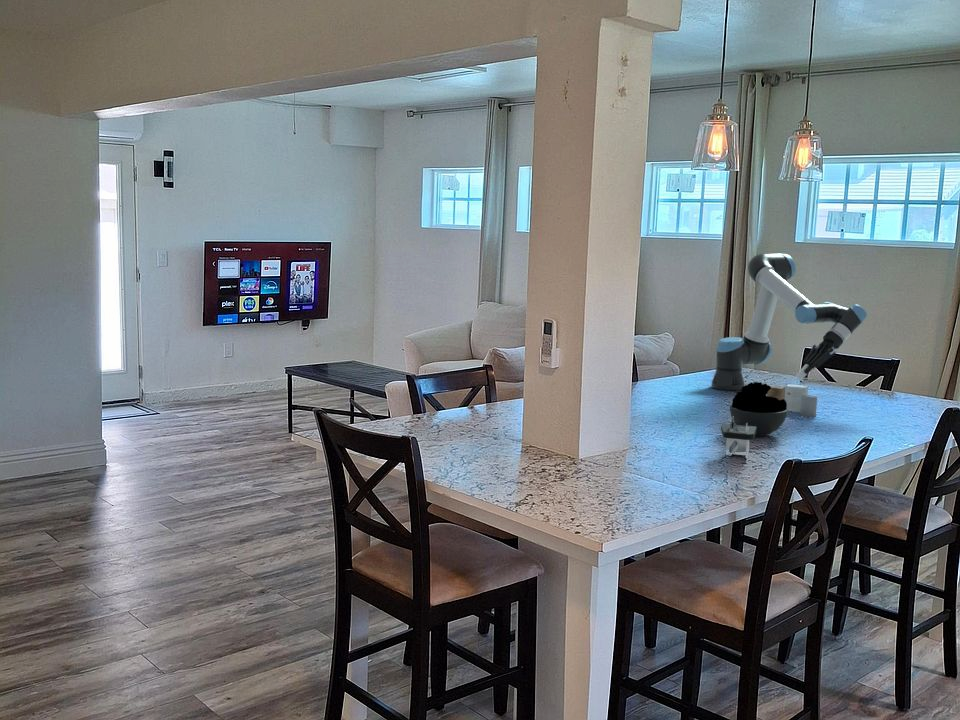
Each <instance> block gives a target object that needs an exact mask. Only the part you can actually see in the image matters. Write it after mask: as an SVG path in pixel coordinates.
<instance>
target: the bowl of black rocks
mask: <svg viewBox="0 0 960 720" xmlns="http://www.w3.org/2000/svg"><path fill="white" fill-rule="evenodd" d="M770 389H771V385H768V384H767V383H762V382H761V381H760V382H759V381H754V382H749V383H748V384H745V386H743V387H742V389H741V390H740V391H737V392H736V393H735V395H734V397H733V398H732V401H731V402H732V404H730V405H729V412H730V417H731V418H732V417H733V422H735V423H736V424H735V423H734V424H735V425H737V423H738V424H739V423H740V424H739V425H744V424H741V423H747V426H755V427H757V428H756V434H755V436H758V435H760V436H765V435H770V434H771V433H772V434H773V433H774V432H776V431H777V430H778V429H780V427H781V426H782V425H783V424H784V422H785V421H786V418H787V416H788V412H789V411H788V410H787V403H786V401H785V400H784V399H782V400H778V398H775V397H768V396H767V393H768V391H769V390H770ZM744 426H746V424H745V425H744Z"/></svg>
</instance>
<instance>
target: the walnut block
mask: <svg viewBox="0 0 960 720" xmlns="http://www.w3.org/2000/svg"><path fill="white" fill-rule="evenodd" d="M770 386H771V389H770V390H769V391H768V393H767V395H766V396H768V397H775V398H778V400H782V399H784V400H785V386H782V385H775V384H774V385H773V384H772V385H770Z"/></svg>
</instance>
